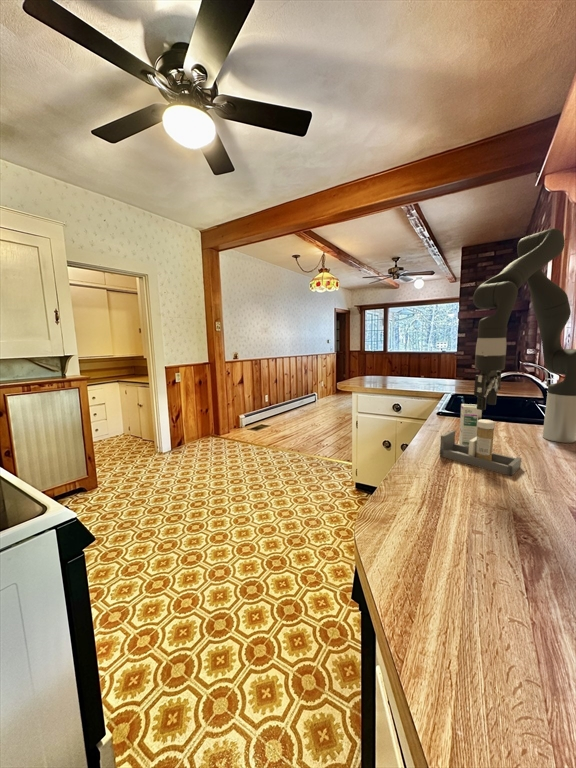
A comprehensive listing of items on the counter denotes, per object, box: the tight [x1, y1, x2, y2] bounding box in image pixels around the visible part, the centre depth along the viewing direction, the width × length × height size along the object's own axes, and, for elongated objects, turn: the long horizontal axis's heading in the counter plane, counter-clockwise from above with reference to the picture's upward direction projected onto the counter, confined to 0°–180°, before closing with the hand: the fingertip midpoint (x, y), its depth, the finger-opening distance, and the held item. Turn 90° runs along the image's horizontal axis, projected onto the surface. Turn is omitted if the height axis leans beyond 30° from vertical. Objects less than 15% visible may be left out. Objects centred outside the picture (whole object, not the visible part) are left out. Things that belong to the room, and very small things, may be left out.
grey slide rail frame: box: [439, 429, 522, 477], centre depth 98 cm, size 8×20×7 cm, turn 40°
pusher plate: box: [468, 437, 477, 456], centre depth 99 cm, size 6×1×5 cm, turn 130°
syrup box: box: [458, 403, 483, 447], centre depth 112 cm, size 6×6×14 cm
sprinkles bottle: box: [476, 418, 496, 461], centre depth 96 cm, size 5×5×13 cm
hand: (486, 407), depth 95 cm, fingers open, 8 cm apart
